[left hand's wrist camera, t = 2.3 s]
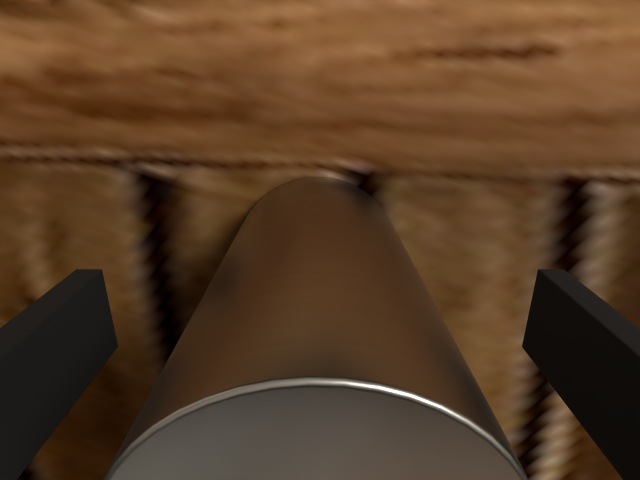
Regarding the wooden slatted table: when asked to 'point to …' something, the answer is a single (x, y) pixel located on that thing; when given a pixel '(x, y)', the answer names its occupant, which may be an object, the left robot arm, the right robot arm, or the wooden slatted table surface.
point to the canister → (316, 361)
